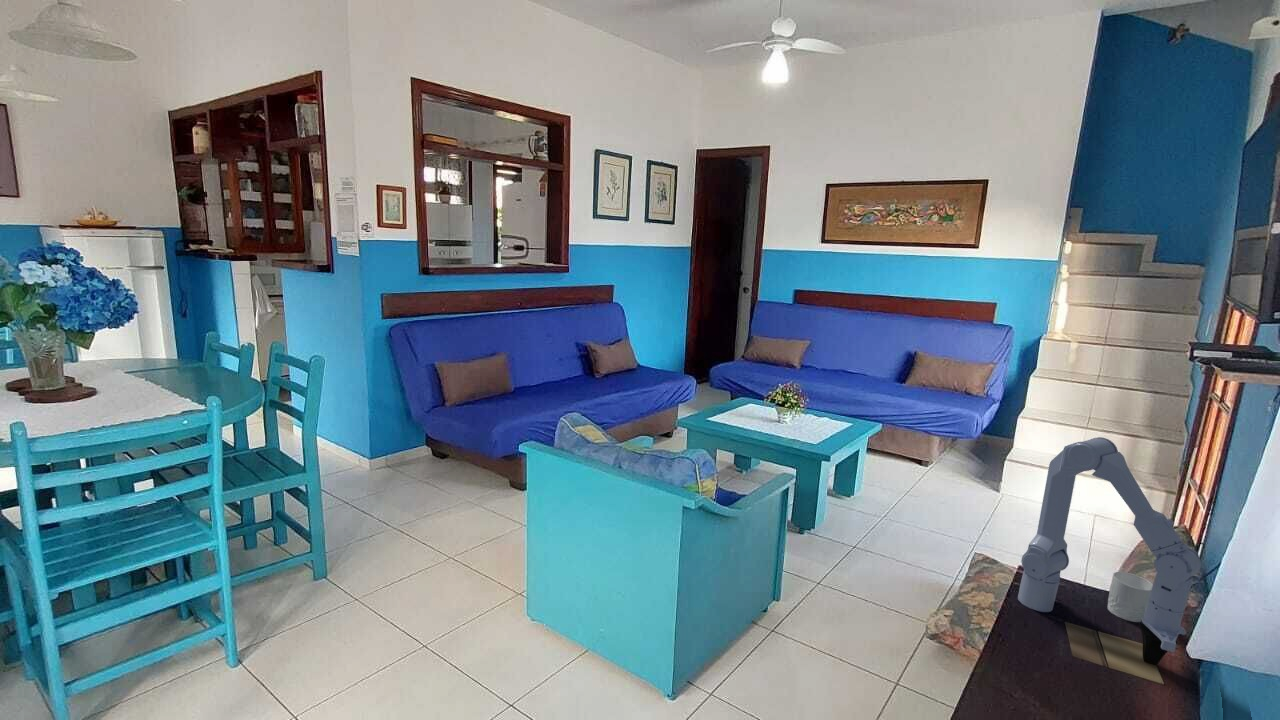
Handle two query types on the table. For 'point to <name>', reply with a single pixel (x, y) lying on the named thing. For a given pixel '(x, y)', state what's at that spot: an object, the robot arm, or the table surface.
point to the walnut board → (1085, 644)
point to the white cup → (1129, 596)
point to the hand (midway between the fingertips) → (1149, 662)
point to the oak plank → (1128, 657)
